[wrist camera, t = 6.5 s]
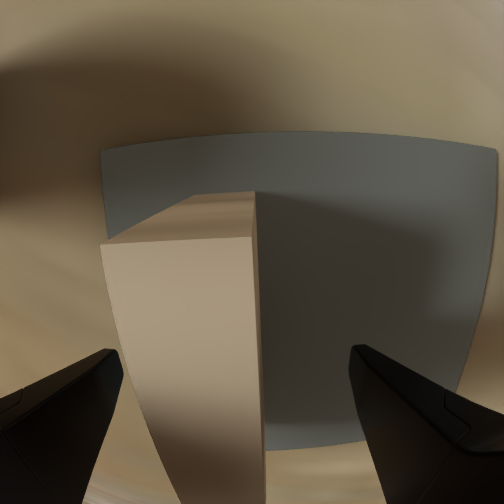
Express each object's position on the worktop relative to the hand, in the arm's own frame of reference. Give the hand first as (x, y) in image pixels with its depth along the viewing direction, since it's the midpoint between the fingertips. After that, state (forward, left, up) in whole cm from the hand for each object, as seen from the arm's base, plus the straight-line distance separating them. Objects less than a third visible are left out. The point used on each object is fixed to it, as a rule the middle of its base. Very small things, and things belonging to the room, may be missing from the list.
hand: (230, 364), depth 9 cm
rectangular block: (0, 0, -2) cm, 2 cm away
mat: (0, -3, -2) cm, 4 cm away
